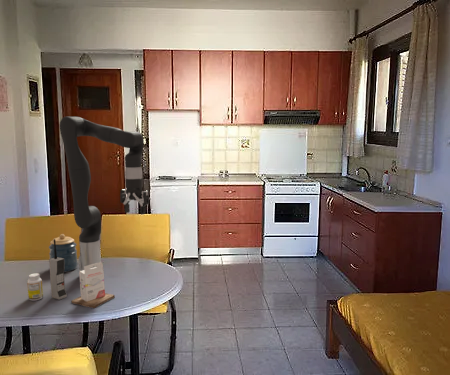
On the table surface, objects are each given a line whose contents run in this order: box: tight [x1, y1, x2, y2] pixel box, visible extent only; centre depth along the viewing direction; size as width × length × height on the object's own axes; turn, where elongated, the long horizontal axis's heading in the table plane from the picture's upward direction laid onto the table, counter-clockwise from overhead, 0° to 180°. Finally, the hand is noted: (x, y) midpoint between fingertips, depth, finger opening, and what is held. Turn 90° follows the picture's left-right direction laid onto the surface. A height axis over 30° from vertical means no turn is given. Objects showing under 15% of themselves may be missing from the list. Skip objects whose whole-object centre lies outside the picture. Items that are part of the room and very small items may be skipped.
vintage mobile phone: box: [48, 238, 68, 301], centre depth 178 cm, size 4×5×25 cm
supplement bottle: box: [26, 272, 44, 302], centre depth 178 cm, size 6×6×10 cm
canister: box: [48, 233, 79, 273], centre depth 215 cm, size 13×13×18 cm
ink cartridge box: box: [78, 261, 106, 301], centre depth 176 cm, size 9×5×15 cm, turn 135°
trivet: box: [71, 292, 116, 309], centre depth 177 cm, size 12×12×1 cm
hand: (135, 213), depth 191 cm, fingers open, 8 cm apart
